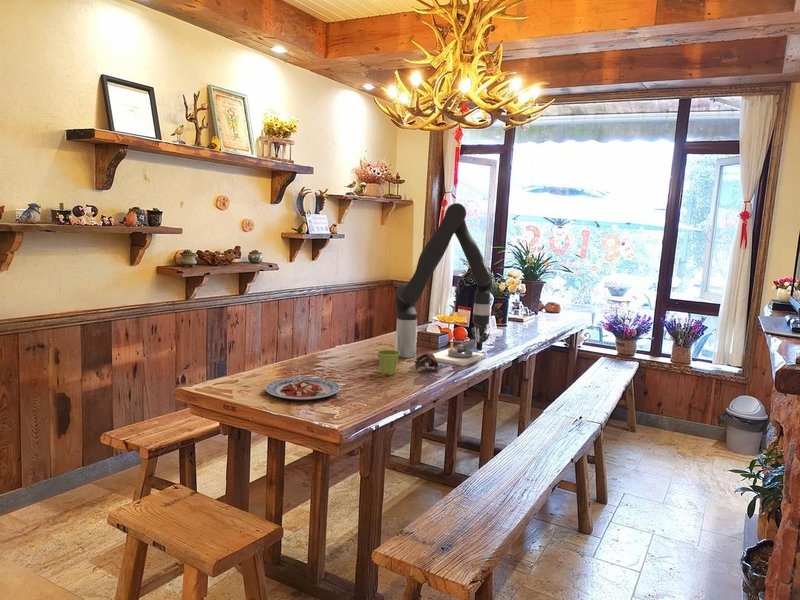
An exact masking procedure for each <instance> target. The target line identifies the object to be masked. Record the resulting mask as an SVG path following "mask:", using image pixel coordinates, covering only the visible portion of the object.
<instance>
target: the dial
mask: <svg viewBox="0 0 800 600" xmlns="http://www.w3.org/2000/svg"><path fill="white" fill-rule="evenodd" d="M475 342H476V340H475V341H473V340H470V341H467V342H464V343H461V344H457V347H456V348H453V349H451V350H449V351H448V355H449V356H452V357H458V358H468V357H472V353H473V352H474V351H471V350H472V349H475Z"/></svg>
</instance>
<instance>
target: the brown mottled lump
mask: <svg viewBox="0 0 800 600" xmlns="http://www.w3.org/2000/svg"><path fill="white" fill-rule="evenodd" d="M433 354H434V353H423V354H421V355H420V356H418V357H417V358H416V359H415V360H414V363H415V366H414V367H415V369H416V370H419V368H423V367H424V368H426V364H428V367H431V368H434V370H435V369H436V373H437V374H438V373H439V372H440V367H439V363H438V361H437V360H436V359H435V356H434V355H433Z"/></svg>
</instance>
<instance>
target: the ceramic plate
mask: <svg viewBox="0 0 800 600" xmlns="http://www.w3.org/2000/svg"><path fill="white" fill-rule="evenodd" d="M264 389H265V391H266V392H267V393H268V394H269V395H271V396H275V397H277V398H283V399H289V400H296V401H307V400H316V399H320V398H322V399H323V398H326V397H331V396H333V395H336V394H337V393H338V392H339V391H340V389H341V387H340V385H339V384H338V383H337V382H335V381H332V380H330V379H329V380H328V379H325V378H321V377H307V376H303V377H302V376H299V377H287V378H281V379H277V380H274V381H271V382H269V383H267V385H266V386H265V388H264Z"/></svg>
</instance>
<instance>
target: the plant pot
mask: <svg viewBox="0 0 800 600" xmlns="http://www.w3.org/2000/svg"><path fill="white" fill-rule="evenodd" d="M376 354H377V357H378V363H379V372H380V374H381V375H383V376H384V375H388V376H392V375H395V374H396V371H397V367H398V366H397V365H398V360H399V359H398V358H400V357H399V354H400V352H399V351H395V349H382V350H377V351H376Z"/></svg>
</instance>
